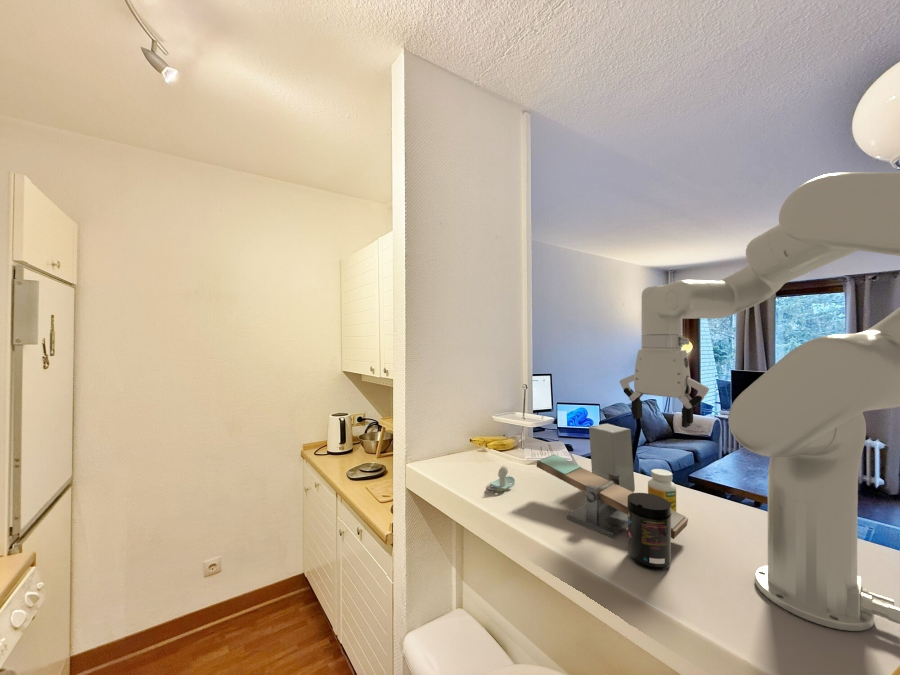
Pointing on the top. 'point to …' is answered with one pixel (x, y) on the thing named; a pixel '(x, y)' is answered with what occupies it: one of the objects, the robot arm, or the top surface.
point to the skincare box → (612, 453)
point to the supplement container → (649, 530)
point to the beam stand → (600, 512)
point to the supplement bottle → (663, 486)
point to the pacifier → (502, 481)
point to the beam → (607, 489)
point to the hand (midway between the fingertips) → (660, 422)
